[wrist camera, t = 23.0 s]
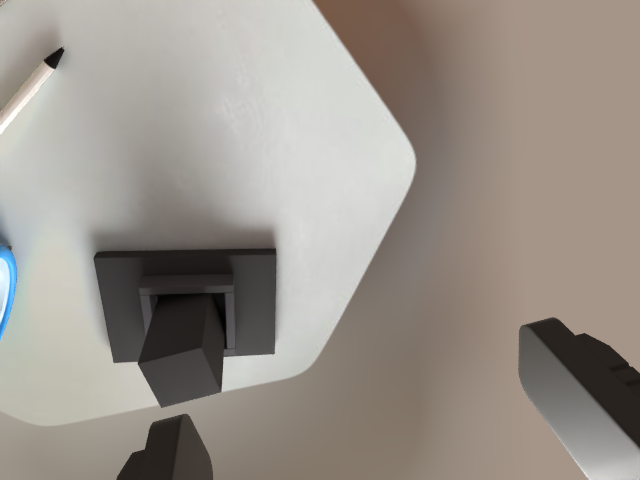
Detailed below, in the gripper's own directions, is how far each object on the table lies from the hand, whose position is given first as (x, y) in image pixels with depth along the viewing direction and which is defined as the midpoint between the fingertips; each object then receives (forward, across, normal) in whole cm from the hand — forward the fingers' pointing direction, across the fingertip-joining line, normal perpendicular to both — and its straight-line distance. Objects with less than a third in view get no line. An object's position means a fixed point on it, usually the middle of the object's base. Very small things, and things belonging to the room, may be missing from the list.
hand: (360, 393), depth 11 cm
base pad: (+30, +12, +15) cm, 36 cm away
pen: (+30, +22, -4) cm, 38 cm away
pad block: (+29, +12, +15) cm, 35 cm away
